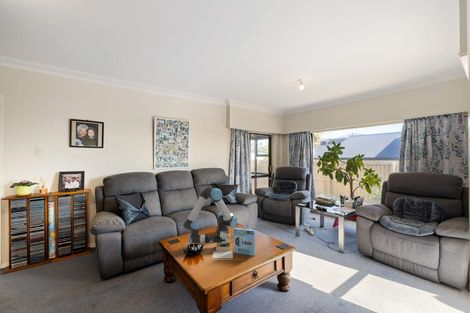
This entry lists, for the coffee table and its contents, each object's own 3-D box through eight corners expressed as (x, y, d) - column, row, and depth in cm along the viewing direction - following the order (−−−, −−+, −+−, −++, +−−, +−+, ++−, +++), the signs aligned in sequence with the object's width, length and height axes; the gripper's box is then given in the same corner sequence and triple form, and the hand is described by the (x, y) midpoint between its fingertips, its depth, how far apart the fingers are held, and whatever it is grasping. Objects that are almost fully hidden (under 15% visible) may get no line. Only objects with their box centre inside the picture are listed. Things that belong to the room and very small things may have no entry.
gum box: (255, 253, 192) (255, 229, 191) (254, 256, 187) (254, 231, 187) (235, 250, 197) (235, 227, 197) (233, 253, 193) (233, 228, 192)
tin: (220, 247, 204) (220, 231, 204) (226, 247, 204) (226, 231, 204) (220, 249, 199) (220, 233, 199) (226, 249, 199) (226, 233, 199)
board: (213, 252, 194) (213, 251, 194) (232, 252, 194) (232, 251, 194) (212, 258, 182) (212, 258, 182) (232, 258, 182) (232, 257, 182)
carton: (217, 246, 207) (217, 232, 207) (230, 246, 207) (230, 231, 207) (216, 251, 195) (216, 236, 195) (230, 251, 195) (230, 236, 195)
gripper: (206, 239, 210) (228, 238, 210) (203, 246, 192) (228, 246, 192) (206, 231, 210) (228, 231, 210) (203, 238, 192) (228, 238, 192)
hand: (228, 238), depth 201 cm, fingers closed on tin, 5 cm apart
